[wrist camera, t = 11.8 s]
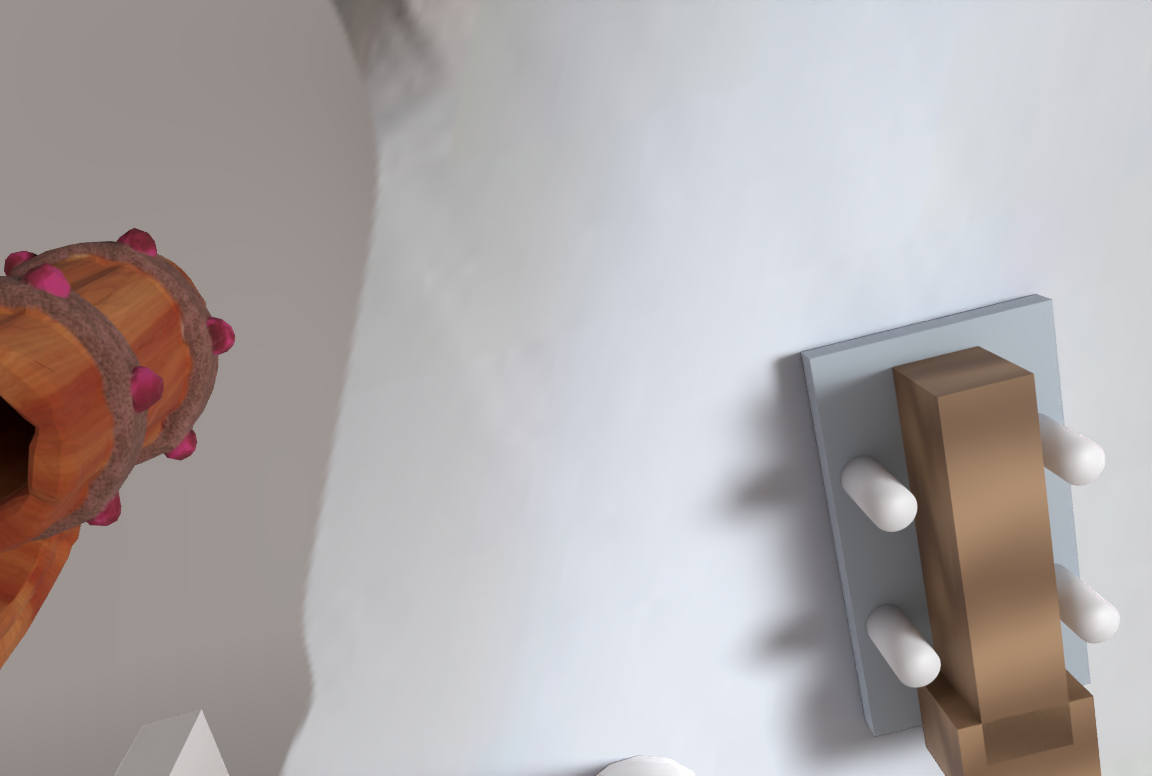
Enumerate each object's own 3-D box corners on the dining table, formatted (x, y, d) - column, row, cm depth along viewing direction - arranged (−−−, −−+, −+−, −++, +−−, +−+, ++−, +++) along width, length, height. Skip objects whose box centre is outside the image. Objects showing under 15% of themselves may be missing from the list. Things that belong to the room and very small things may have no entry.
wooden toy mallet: (867, 373, 41) (910, 403, 37) (1002, 340, 41) (1060, 366, 37) (925, 746, 46) (969, 811, 42) (1045, 716, 46) (1101, 778, 42)
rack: (800, 351, 42) (838, 382, 37) (1036, 294, 42) (1103, 317, 37) (865, 721, 47) (905, 788, 42) (1076, 669, 47) (1139, 730, 42)
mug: (62, 180, 38) (-209, 227, 23) (275, 261, 39) (144, 352, 25) (-34, 522, 41) (-324, 749, 26) (166, 585, 42) (-7, 834, 28)
